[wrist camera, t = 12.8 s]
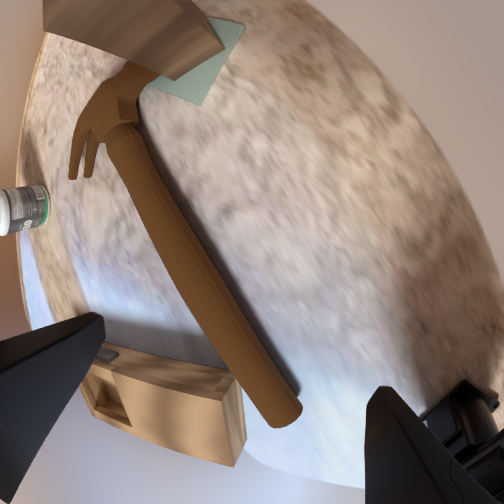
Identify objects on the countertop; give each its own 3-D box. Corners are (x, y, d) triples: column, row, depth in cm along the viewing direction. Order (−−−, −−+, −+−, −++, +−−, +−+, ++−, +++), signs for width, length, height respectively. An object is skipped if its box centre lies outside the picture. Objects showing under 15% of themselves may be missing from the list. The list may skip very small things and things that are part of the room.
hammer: (340, 391, 20) (157, 53, 18) (334, 419, 17) (131, 42, 15) (224, 412, 25) (77, 139, 23) (210, 433, 22) (52, 140, 20)
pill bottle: (34, 226, 28) (-22, 240, 20) (31, 187, 27) (-27, 196, 19) (53, 225, 26) (-10, 241, 18) (50, 181, 25) (-15, 190, 17)
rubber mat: (245, 27, 16) (243, 25, 16) (200, 105, 19) (198, 104, 18) (159, 11, 17) (156, 9, 17) (122, 77, 20) (119, 76, 20)
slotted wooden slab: (239, 367, 23) (220, 397, 19) (247, 438, 25) (233, 467, 21) (89, 334, 28) (65, 350, 24) (111, 398, 30) (92, 415, 26)
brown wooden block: (225, 49, 17) (114, -40, 6) (174, 81, 18) (43, 30, 7) (203, 12, 16) (103, -68, 5) (157, 43, 18) (42, -10, 7)
